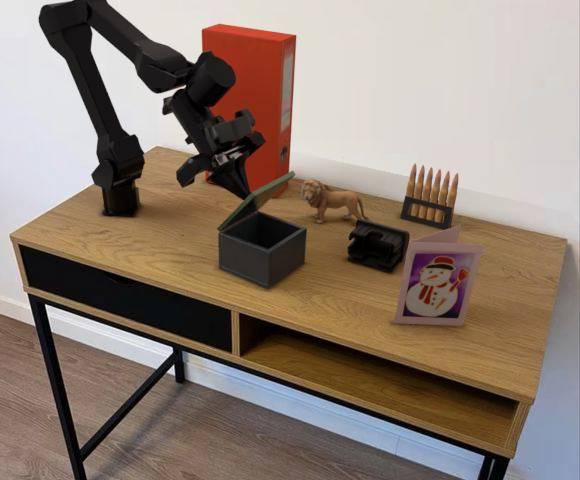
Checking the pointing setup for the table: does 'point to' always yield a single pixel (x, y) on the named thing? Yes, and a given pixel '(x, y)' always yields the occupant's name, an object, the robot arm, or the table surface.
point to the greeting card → (437, 279)
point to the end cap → (377, 245)
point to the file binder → (258, 93)
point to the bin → (262, 248)
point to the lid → (255, 201)
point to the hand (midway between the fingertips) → (249, 200)
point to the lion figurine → (330, 199)
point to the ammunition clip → (430, 199)
